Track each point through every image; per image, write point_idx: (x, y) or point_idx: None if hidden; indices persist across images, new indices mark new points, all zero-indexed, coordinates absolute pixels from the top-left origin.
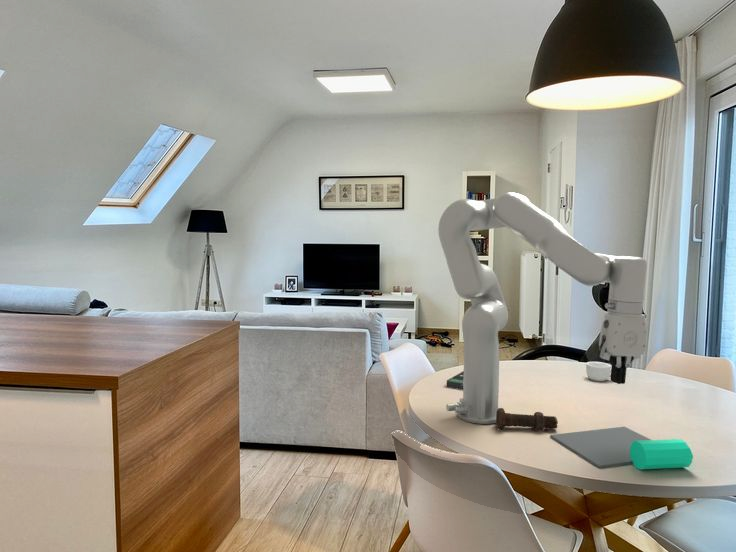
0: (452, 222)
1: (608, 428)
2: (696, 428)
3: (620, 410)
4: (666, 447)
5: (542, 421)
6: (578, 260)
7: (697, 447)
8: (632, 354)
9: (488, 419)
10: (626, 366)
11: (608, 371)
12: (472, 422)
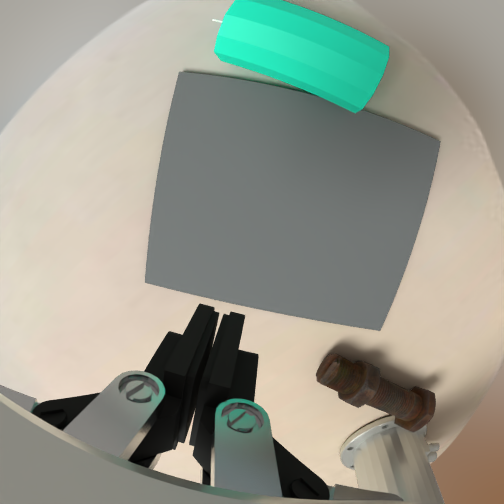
0: None
1: (198, 294)
2: (8, 199)
3: (74, 352)
4: (314, 15)
5: (371, 373)
6: None
7: (87, 107)
8: (70, 455)
9: None
10: (146, 385)
11: None
12: None
